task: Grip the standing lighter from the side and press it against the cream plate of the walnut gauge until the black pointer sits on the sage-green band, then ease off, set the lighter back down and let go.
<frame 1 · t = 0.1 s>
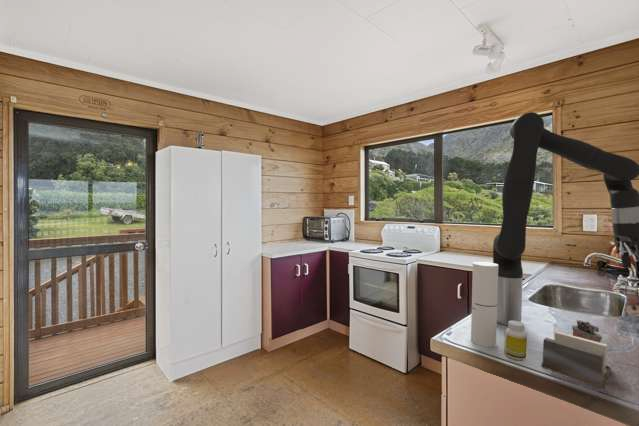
hand: (633, 270, 105), 22 cm above the counter, tool pointing down, fingers open, 8 cm apart
lighter: (585, 357, 93), on the counter
cylindrical container: (483, 342, 102), on the counter
supplement bottle: (515, 356, 93), on the counter
gauge plate: (581, 349, 88), point 4 cm above the counter, slide at 0.0 cm
gauge base: (578, 365, 88), on the counter
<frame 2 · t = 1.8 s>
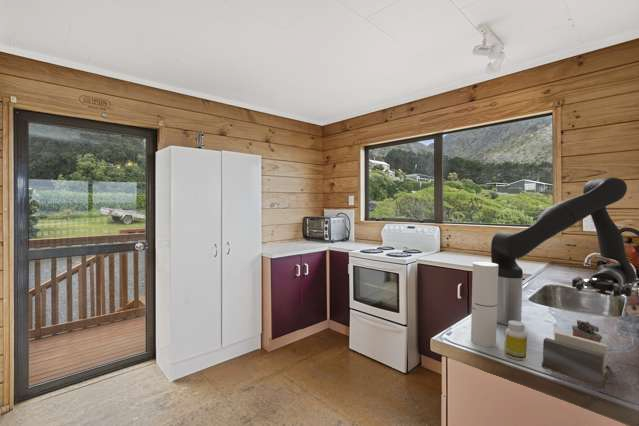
hand: (596, 290, 99), 17 cm above the counter, tool horizontal, fingers open, 8 cm apart
nothing on the counter moved.
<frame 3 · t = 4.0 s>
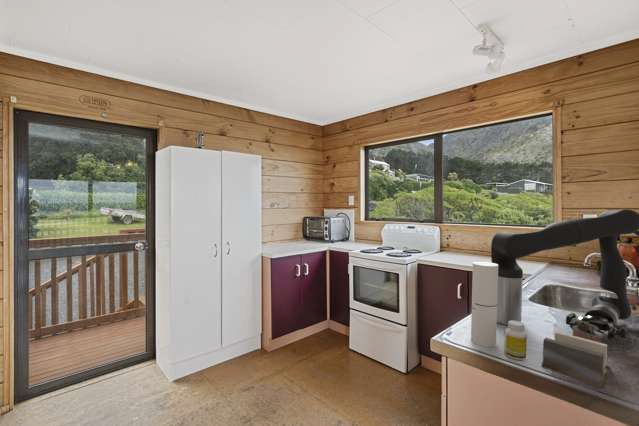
hand: (590, 330, 96), 6 cm above the counter, tool horizontal, fingers open, 8 cm apart
nothing on the counter moved.
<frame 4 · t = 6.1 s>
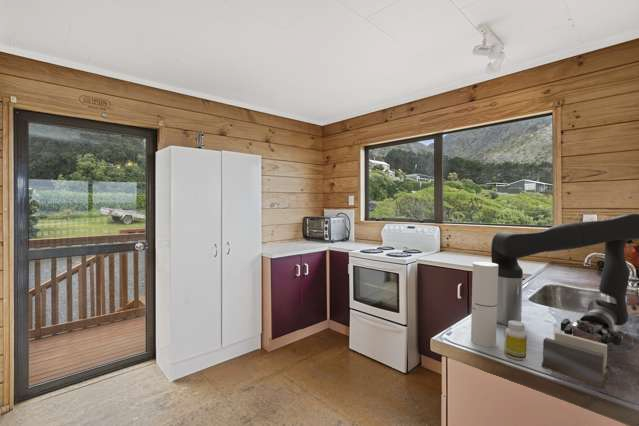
hand: (584, 337, 91), 6 cm above the counter, tool horizontal, fingers closed on lighter, 7 cm apart
lighter: (585, 357, 93), on the counter, touching gripper
everything else where it was.
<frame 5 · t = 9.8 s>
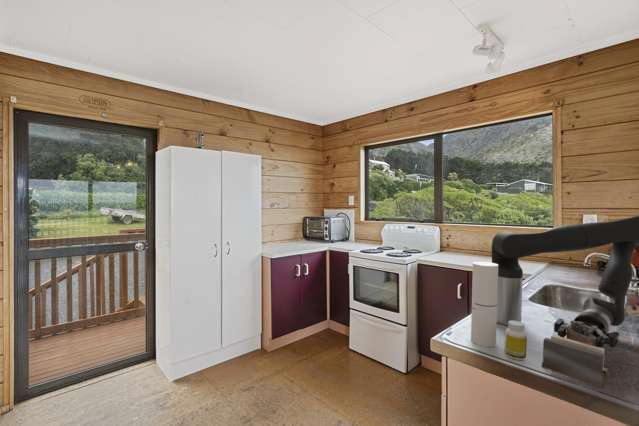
hand: (578, 339, 86), 8 cm above the counter, tool horizontal, fingers closed on lighter, 7 cm apart
lighter: (579, 359, 88), point 1 cm above the counter, touching gauge plate, gripper
gauge plate: (577, 353, 85), point 4 cm above the counter, slide at 3.7 cm, touching lighter
everything else where it was.
when the fingers open (7 cm above the counter, at t = 13.7 s): lighter stays where it is, on the counter.
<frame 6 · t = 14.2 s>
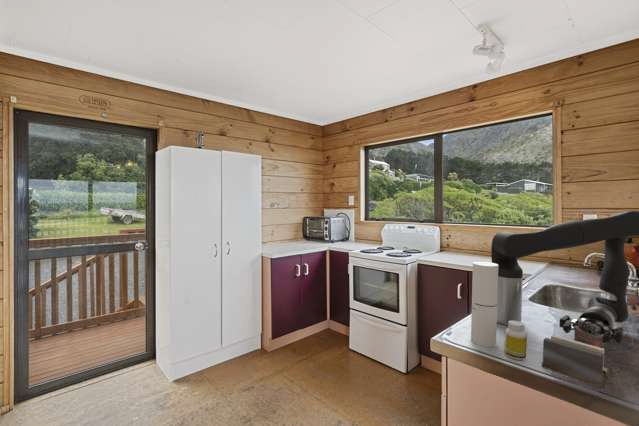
hand: (584, 334, 91), 7 cm above the counter, tool horizontal, fingers open, 8 cm apart
lighter: (586, 357, 92), on the counter, touching gripper
gauge plate: (577, 353, 85), point 4 cm above the counter, slide at 3.7 cm
everything else where it was.
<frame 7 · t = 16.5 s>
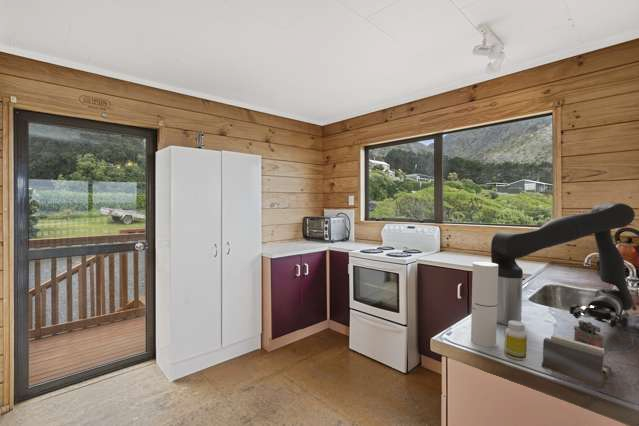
hand: (593, 319, 100), 8 cm above the counter, tool horizontal, fingers open, 8 cm apart
lighter: (586, 357, 92), on the counter
everything else where it was.
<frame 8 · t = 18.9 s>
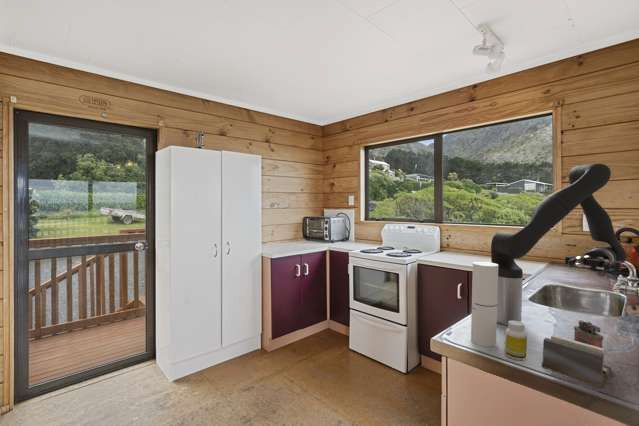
hand: (587, 265, 103), 24 cm above the counter, tool horizontal, fingers open, 8 cm apart
nothing on the counter moved.
at the end: gauge plate slide at 3.7 cm; the gripper is holding nothing; lighter tilted 0° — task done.
